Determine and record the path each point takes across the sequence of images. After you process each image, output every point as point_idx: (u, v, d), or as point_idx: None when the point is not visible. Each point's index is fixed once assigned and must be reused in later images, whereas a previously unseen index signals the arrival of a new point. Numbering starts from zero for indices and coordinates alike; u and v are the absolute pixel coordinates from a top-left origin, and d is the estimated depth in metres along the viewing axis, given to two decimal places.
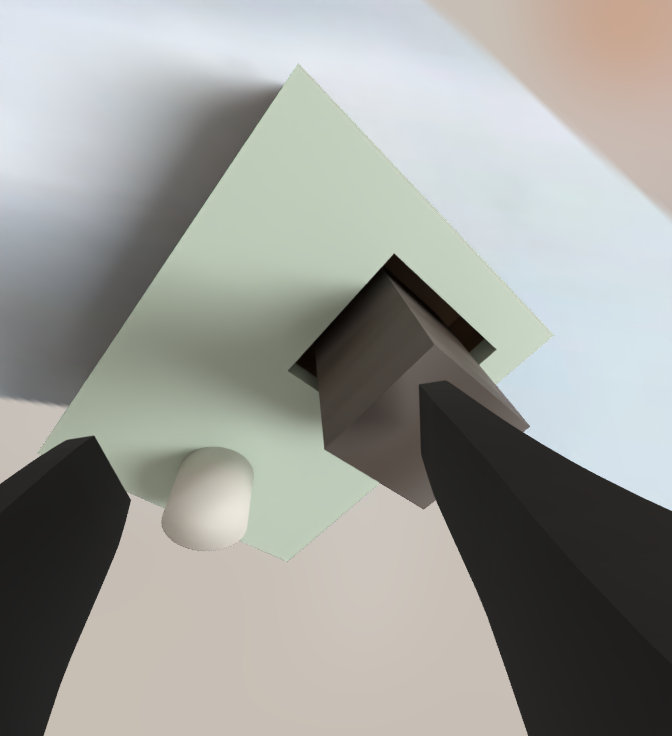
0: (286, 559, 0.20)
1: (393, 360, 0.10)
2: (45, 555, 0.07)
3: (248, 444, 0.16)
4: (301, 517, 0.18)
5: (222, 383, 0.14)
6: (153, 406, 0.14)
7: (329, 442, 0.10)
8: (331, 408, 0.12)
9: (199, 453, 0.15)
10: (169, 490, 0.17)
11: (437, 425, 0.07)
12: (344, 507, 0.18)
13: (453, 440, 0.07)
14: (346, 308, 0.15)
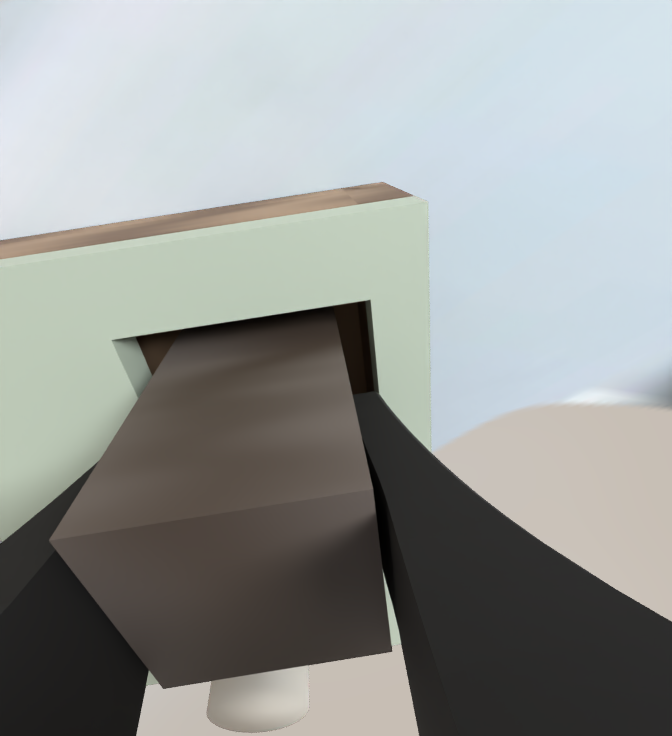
0: None
1: None
2: None
3: None
4: None
5: None
6: None
7: (160, 677, 0.07)
8: None
9: None
10: None
11: None
12: None
13: None
14: None
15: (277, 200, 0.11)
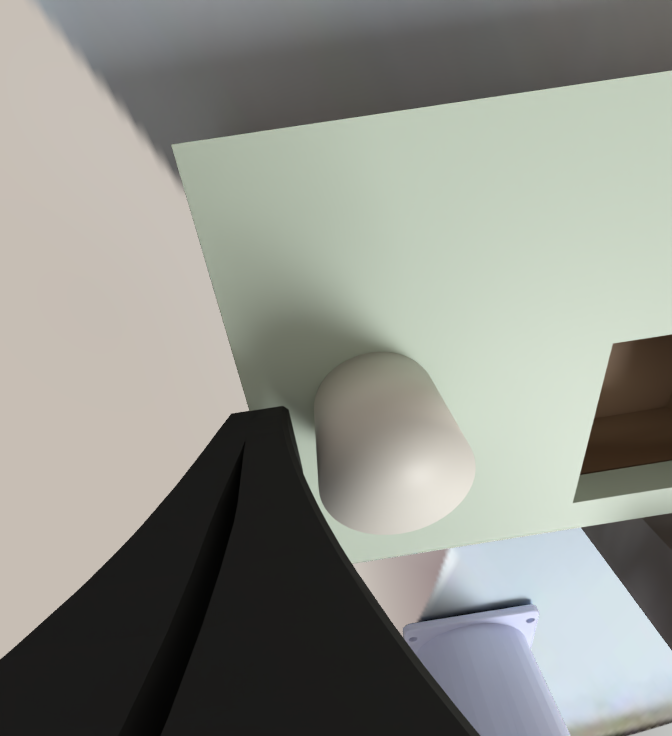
0: None
1: None
2: None
3: (459, 397, 0.10)
4: None
5: (544, 294, 0.09)
6: (436, 244, 0.08)
7: None
8: None
9: (408, 362, 0.09)
10: (289, 381, 0.09)
11: None
12: (438, 544, 0.12)
13: None
14: None
15: None
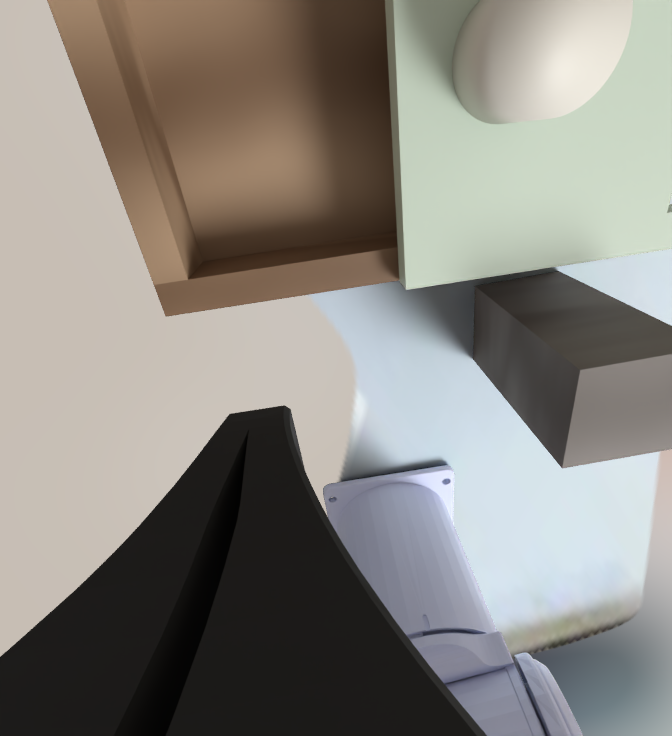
0: (409, 285, 0.13)
1: (655, 341, 0.12)
2: None
3: None
4: (493, 232, 0.13)
5: None
6: None
7: (586, 367, 0.12)
8: (568, 346, 0.13)
9: None
10: (436, 16, 0.10)
11: None
12: (539, 261, 0.13)
13: None
14: (534, 289, 0.17)
15: None
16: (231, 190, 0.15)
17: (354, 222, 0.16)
